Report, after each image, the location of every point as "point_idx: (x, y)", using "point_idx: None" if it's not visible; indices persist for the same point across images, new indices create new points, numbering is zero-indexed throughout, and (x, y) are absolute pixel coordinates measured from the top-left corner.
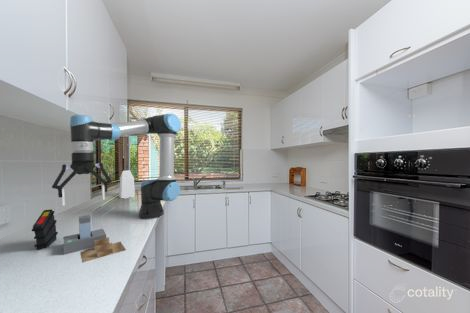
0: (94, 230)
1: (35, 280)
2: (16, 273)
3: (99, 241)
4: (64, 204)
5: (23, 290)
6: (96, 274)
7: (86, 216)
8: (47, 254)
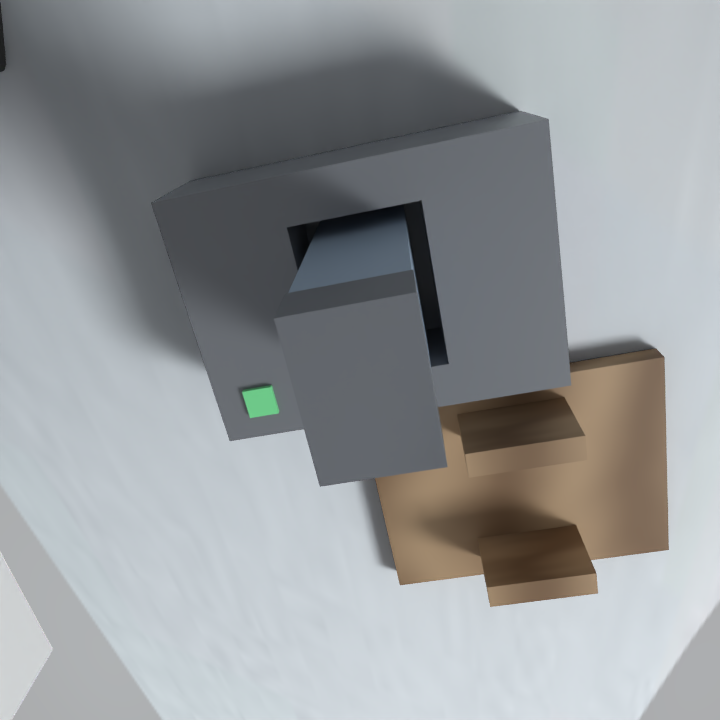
0: (453, 143)
1: (201, 612)
2: (50, 483)
3: (504, 465)
4: (35, 670)
5: (190, 671)
6: (478, 695)
7: (389, 390)
8: (99, 250)
